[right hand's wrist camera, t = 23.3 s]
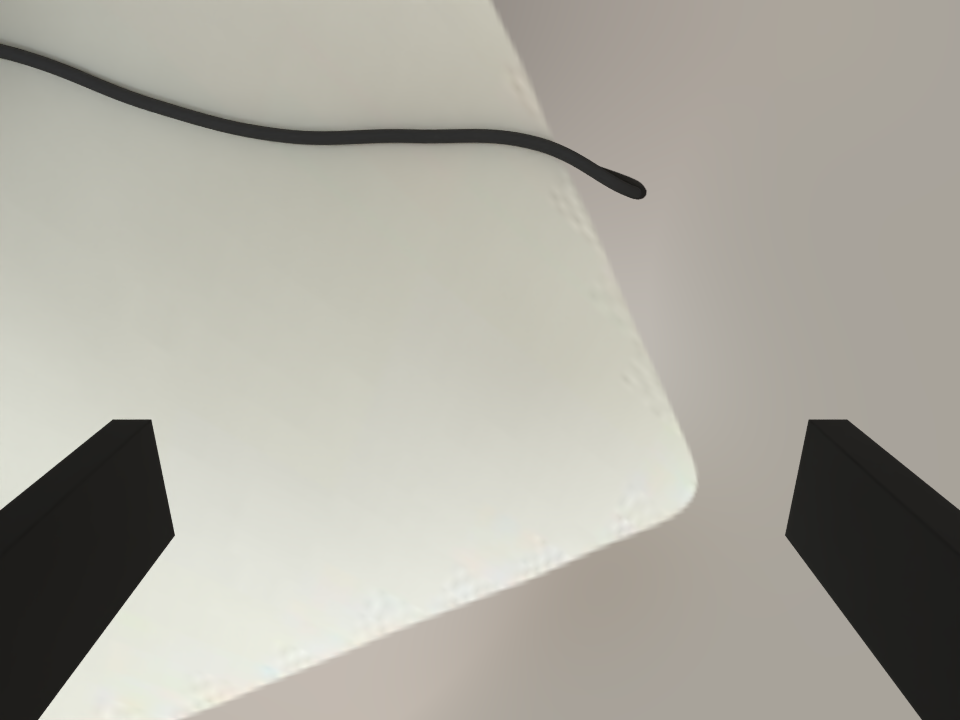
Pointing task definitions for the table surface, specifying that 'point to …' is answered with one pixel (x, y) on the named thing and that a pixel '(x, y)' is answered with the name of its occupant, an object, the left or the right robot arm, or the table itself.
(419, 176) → the table surface
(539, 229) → the table surface
